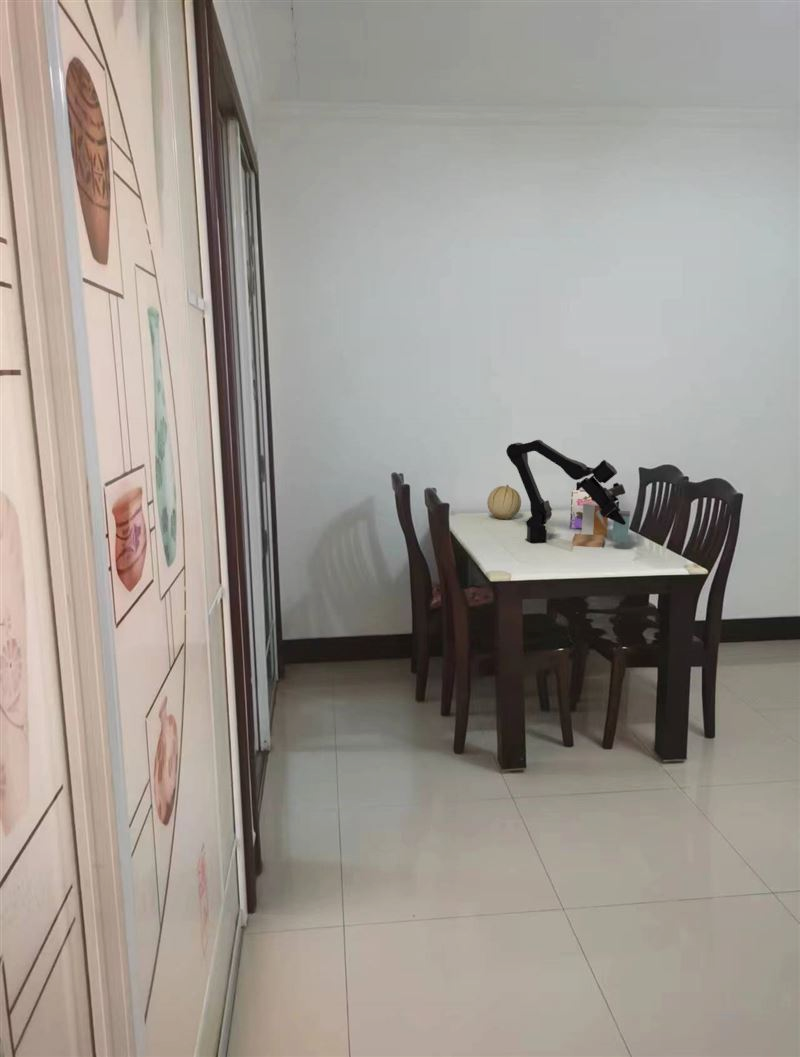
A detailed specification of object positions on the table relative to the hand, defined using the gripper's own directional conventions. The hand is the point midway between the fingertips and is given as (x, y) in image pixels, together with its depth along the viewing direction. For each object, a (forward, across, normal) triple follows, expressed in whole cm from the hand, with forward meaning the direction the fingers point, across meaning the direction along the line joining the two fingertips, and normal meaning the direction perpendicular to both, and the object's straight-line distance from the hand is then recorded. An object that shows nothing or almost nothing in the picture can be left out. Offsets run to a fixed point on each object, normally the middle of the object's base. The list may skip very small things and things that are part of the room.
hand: (625, 522), depth 291 cm
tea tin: (+4, 0, +6) cm, 7 cm away
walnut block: (-2, +6, +17) cm, 18 cm away
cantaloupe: (-29, +48, +44) cm, 72 cm away
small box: (-1, +22, +16) cm, 27 cm away
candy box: (-3, +36, +18) cm, 40 cm away
